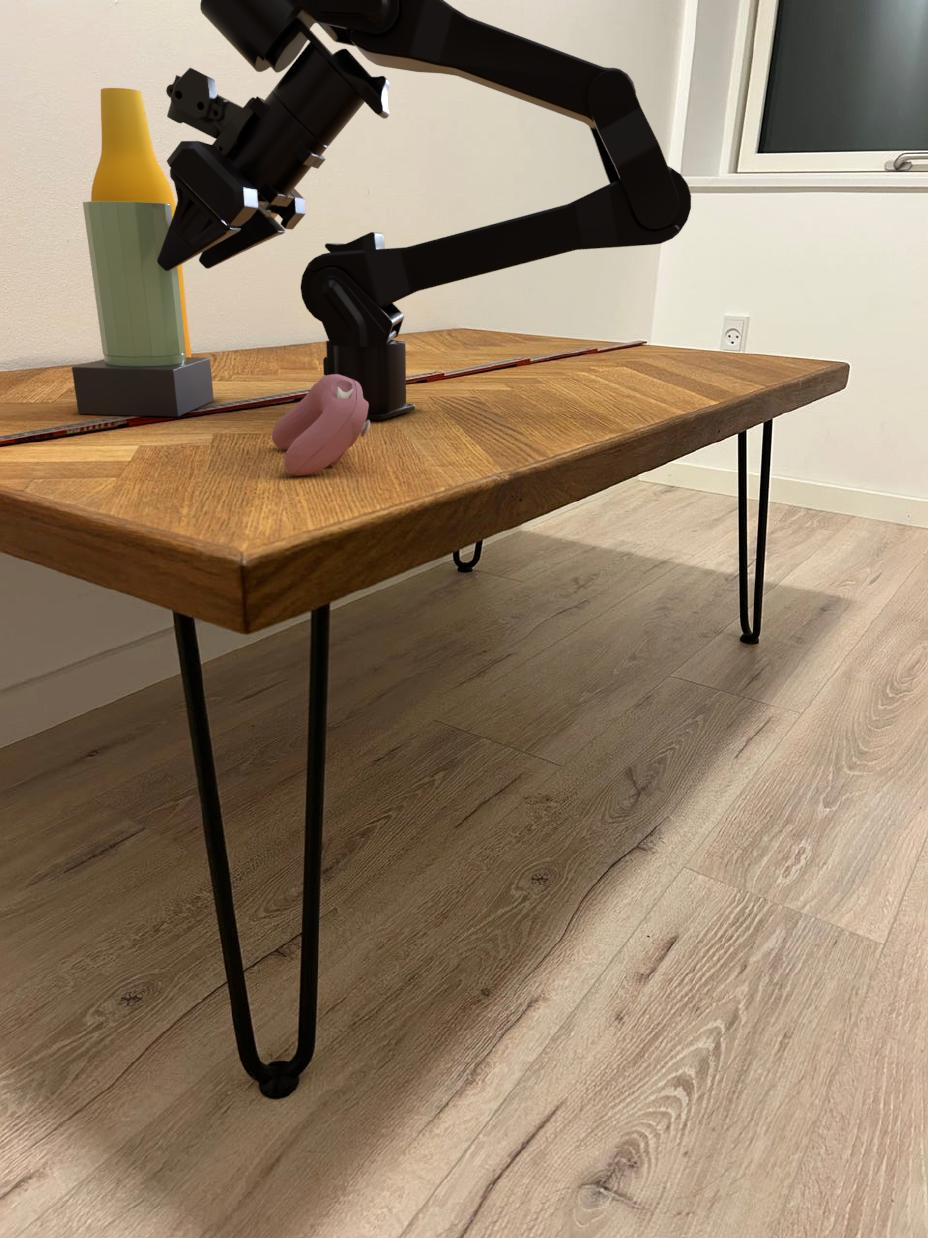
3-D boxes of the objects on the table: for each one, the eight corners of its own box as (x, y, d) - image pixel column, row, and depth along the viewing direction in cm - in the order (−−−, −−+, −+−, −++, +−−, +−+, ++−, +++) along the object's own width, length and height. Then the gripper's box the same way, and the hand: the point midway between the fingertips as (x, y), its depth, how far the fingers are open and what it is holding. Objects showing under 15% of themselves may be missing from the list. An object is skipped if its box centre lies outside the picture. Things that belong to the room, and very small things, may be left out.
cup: (198, 358, 85) (183, 205, 80) (167, 367, 78) (149, 201, 73) (126, 356, 85) (107, 204, 81) (90, 365, 79) (67, 200, 74)
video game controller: (344, 498, 60) (389, 400, 59) (280, 471, 58) (325, 369, 57) (322, 465, 69) (361, 380, 68) (266, 441, 67) (304, 352, 66)
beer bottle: (95, 367, 108) (56, 87, 97) (157, 360, 115) (127, 98, 104) (147, 374, 104) (113, 81, 93) (208, 365, 111) (183, 93, 100)
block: (214, 400, 87) (210, 357, 86) (178, 417, 79) (173, 369, 77) (123, 398, 88) (117, 355, 86) (78, 414, 79) (71, 366, 78)
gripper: (260, 59, 80) (155, 198, 85) (179, 8, 63) (53, 186, 68) (353, 159, 82) (245, 288, 87) (298, 135, 65) (168, 298, 70)
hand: (183, 265), depth 78 cm, fingers open, 9 cm apart
